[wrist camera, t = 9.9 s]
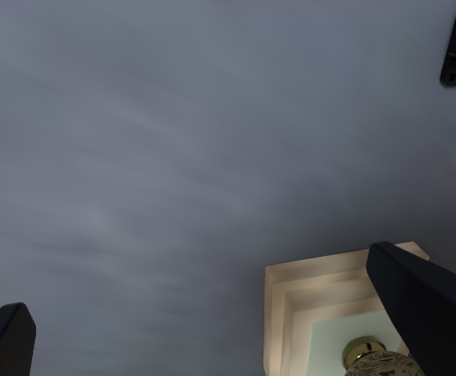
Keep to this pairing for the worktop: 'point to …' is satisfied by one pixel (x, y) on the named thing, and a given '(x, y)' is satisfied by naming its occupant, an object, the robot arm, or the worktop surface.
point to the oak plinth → (323, 313)
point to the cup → (376, 360)
